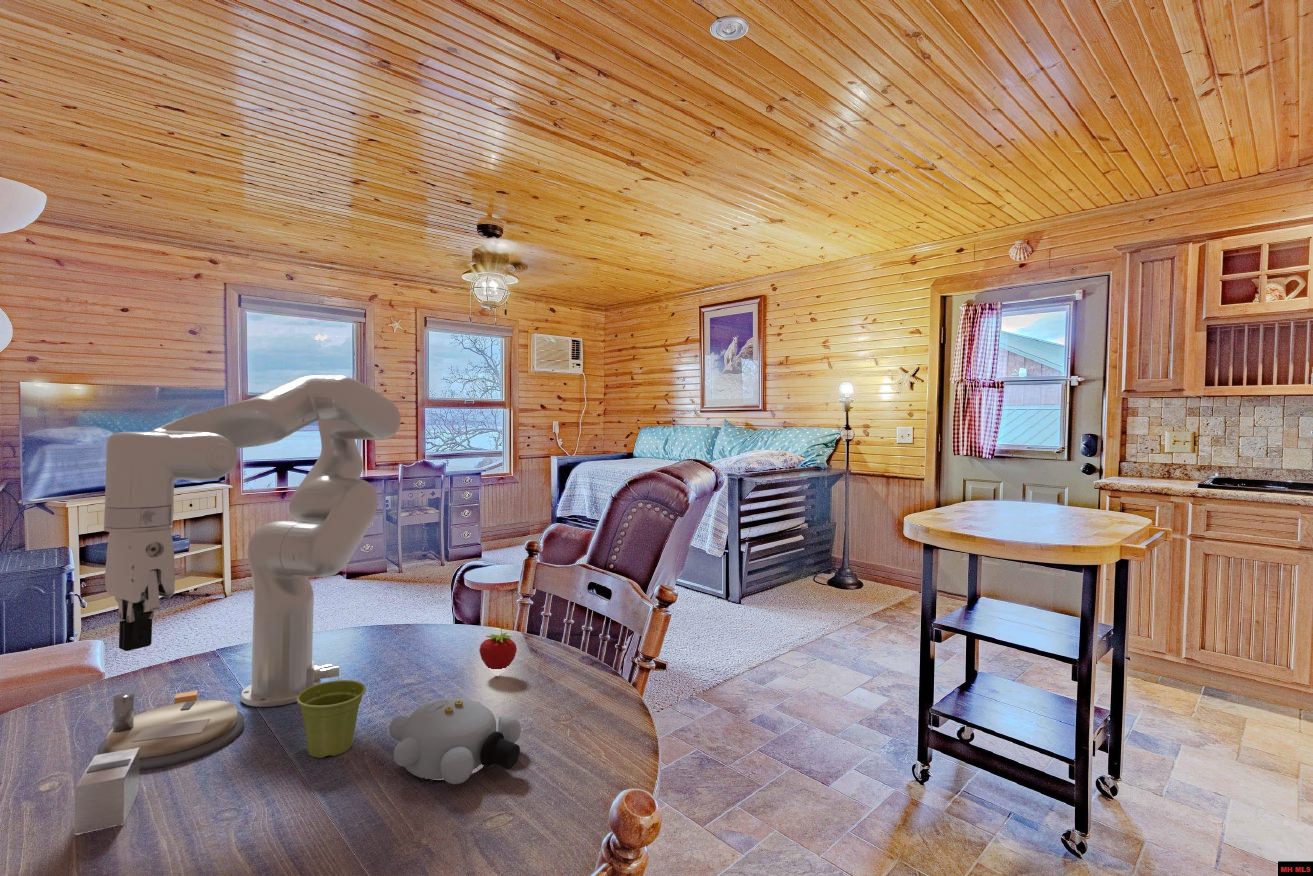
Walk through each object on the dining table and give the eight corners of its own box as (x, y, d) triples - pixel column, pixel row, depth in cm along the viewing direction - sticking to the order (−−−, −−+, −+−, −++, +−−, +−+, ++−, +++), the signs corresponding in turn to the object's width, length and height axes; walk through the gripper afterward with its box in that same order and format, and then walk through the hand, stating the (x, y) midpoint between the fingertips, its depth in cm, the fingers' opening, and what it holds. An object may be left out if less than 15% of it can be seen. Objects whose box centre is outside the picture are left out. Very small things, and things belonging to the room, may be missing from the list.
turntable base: (249, 699, 111) (249, 682, 111) (239, 751, 93) (239, 731, 93) (118, 720, 102) (119, 702, 102) (80, 782, 84) (80, 760, 84)
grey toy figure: (357, 772, 87) (470, 824, 80) (363, 714, 87) (477, 760, 80) (442, 721, 104) (543, 760, 96) (448, 672, 103) (549, 707, 96)
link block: (138, 792, 82) (139, 746, 82) (123, 826, 75) (124, 776, 75) (94, 801, 80) (95, 754, 80) (74, 837, 73) (75, 786, 73)
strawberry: (485, 669, 127) (486, 621, 127) (520, 672, 126) (521, 623, 126) (473, 680, 121) (474, 630, 121) (509, 683, 120) (511, 632, 120)
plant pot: (378, 740, 97) (379, 685, 97) (328, 770, 88) (330, 710, 88) (332, 729, 100) (333, 676, 100) (280, 757, 92) (281, 699, 92)
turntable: (258, 723, 99) (259, 683, 99) (138, 769, 85) (139, 723, 85) (204, 700, 107) (205, 664, 107) (86, 740, 93) (87, 697, 93)
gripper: (196, 520, 87) (192, 650, 87) (146, 512, 95) (142, 631, 94) (131, 526, 81) (126, 666, 81) (83, 516, 88) (78, 645, 88)
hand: (135, 647), depth 88 cm, fingers closed
